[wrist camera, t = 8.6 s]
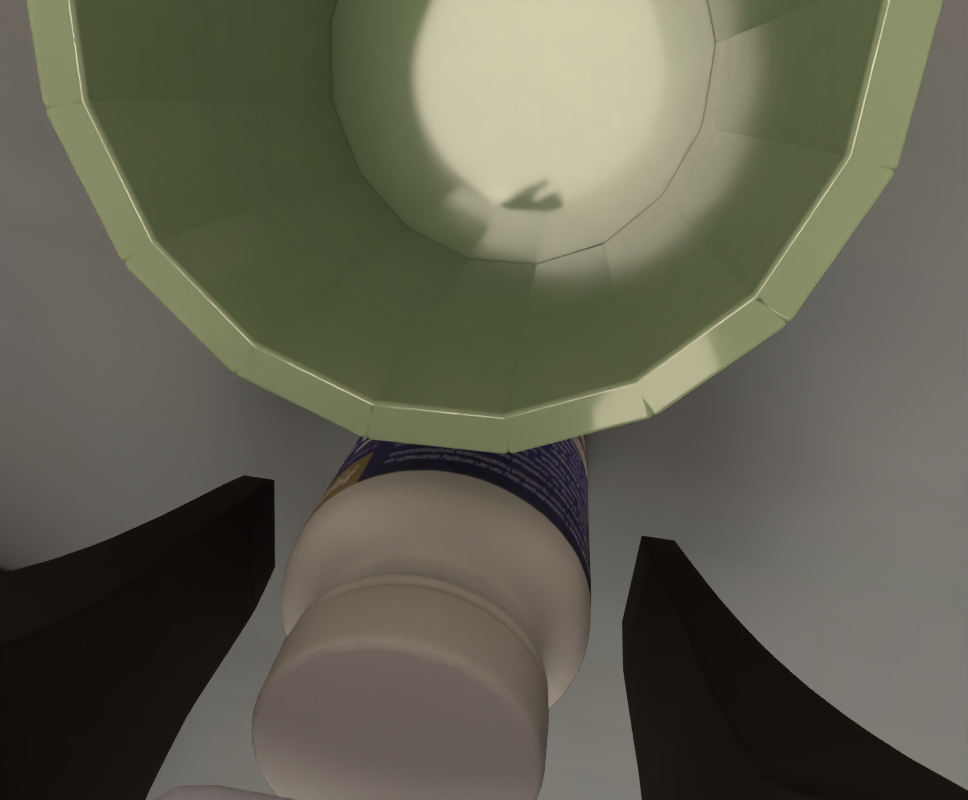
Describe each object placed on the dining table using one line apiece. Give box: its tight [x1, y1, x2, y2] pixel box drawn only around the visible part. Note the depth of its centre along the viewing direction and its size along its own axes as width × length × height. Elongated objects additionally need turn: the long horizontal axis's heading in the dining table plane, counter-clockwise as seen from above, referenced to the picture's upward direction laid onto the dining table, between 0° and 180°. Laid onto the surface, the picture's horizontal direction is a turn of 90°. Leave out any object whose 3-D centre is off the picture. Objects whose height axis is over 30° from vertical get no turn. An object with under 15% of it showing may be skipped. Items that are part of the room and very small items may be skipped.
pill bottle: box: [252, 436, 591, 800], centre depth 14 cm, size 5×5×9 cm
